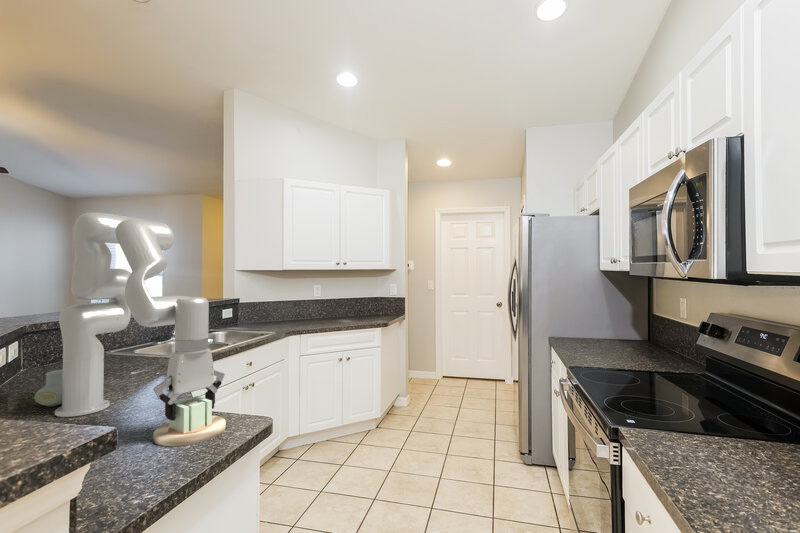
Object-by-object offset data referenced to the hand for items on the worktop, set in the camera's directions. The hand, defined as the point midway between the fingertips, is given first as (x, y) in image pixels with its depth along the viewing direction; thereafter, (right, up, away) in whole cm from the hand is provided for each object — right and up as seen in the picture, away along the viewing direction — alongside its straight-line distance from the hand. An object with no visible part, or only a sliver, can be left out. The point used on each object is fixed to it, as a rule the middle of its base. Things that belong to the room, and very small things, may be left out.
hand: (191, 413), depth 98 cm
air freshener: (-54, -6, +23) cm, 59 cm away
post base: (0, -5, 0) cm, 5 cm away
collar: (0, -3, 0) cm, 3 cm away
